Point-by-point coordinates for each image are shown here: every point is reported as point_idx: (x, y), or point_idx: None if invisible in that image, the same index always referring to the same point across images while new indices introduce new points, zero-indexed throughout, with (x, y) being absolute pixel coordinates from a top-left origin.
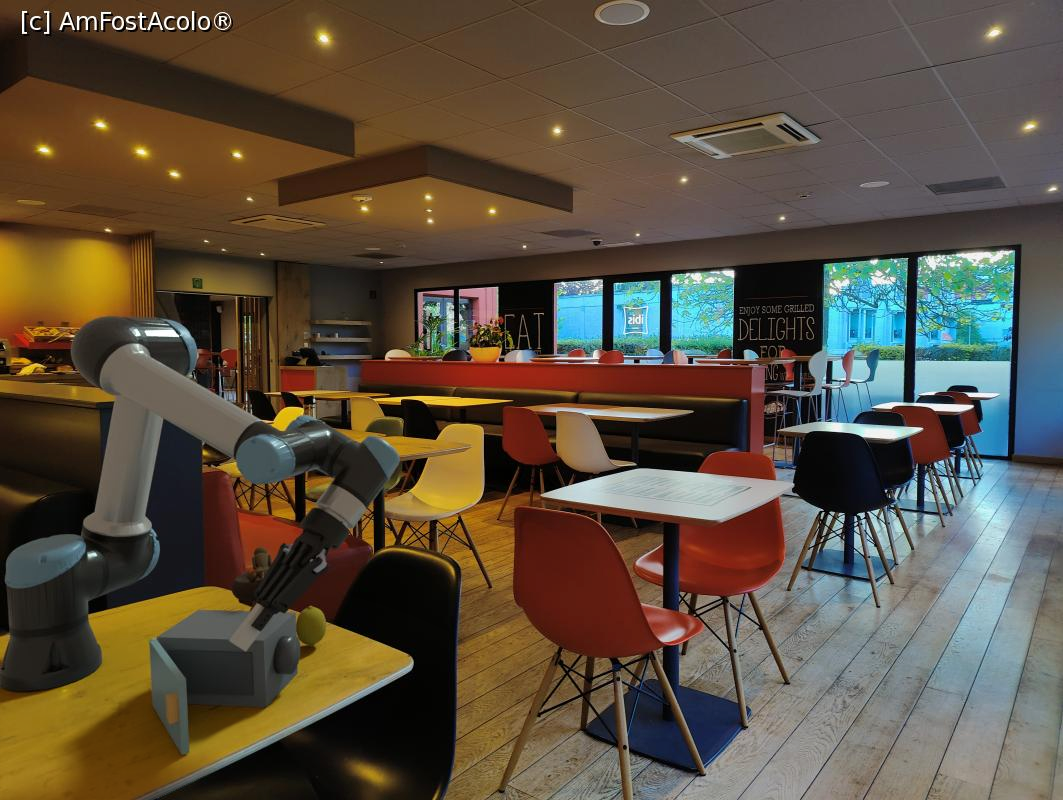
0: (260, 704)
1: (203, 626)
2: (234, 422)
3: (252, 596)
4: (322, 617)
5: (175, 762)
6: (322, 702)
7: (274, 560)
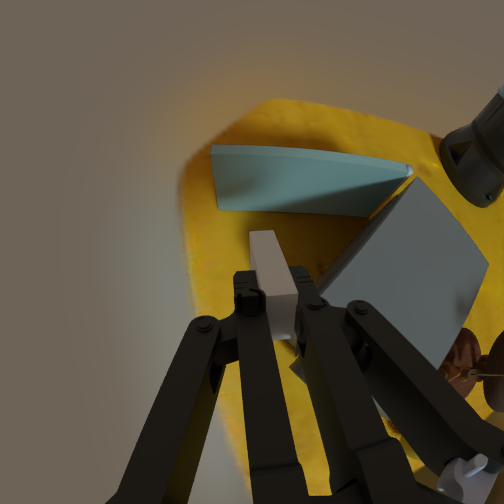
0: None
1: (431, 246)
2: None
3: (492, 354)
4: (419, 458)
5: (212, 196)
6: (230, 396)
7: (463, 404)
